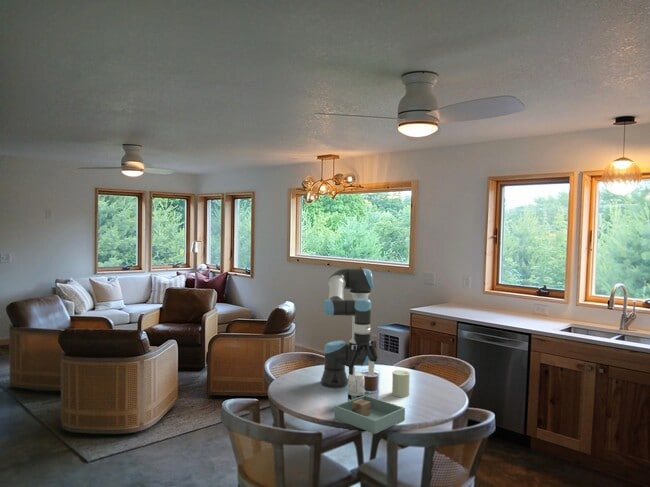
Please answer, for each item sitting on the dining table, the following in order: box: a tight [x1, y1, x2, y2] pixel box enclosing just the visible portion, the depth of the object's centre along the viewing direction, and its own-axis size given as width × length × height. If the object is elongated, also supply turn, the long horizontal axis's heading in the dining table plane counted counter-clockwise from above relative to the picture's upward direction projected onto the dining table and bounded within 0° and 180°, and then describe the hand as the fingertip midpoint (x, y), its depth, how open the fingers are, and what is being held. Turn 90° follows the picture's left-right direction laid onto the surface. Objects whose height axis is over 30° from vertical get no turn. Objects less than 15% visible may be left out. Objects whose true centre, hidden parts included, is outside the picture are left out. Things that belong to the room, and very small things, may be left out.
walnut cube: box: [352, 399, 371, 417], centre depth 222 cm, size 6×6×6 cm
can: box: [391, 369, 411, 398], centre depth 252 cm, size 9×9×12 cm
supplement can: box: [347, 371, 365, 401], centre depth 237 cm, size 8×8×15 cm
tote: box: [334, 394, 406, 435], centre depth 219 cm, size 24×22×6 cm
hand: (361, 378), depth 222 cm, fingers open, 13 cm apart
